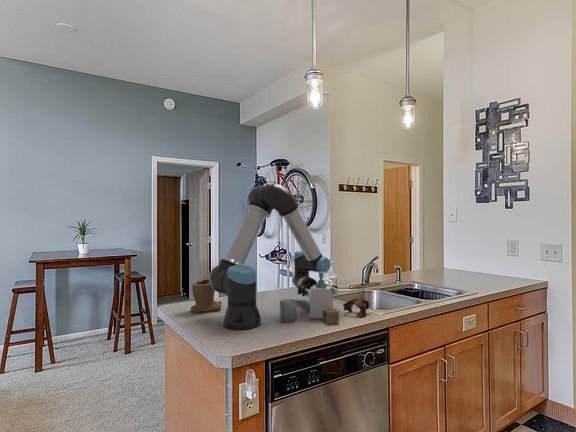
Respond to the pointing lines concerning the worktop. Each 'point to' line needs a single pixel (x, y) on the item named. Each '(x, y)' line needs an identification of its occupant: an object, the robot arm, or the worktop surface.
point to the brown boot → (204, 297)
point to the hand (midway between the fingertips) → (324, 293)
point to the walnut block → (330, 316)
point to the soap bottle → (320, 298)
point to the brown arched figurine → (359, 304)
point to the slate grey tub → (288, 310)
